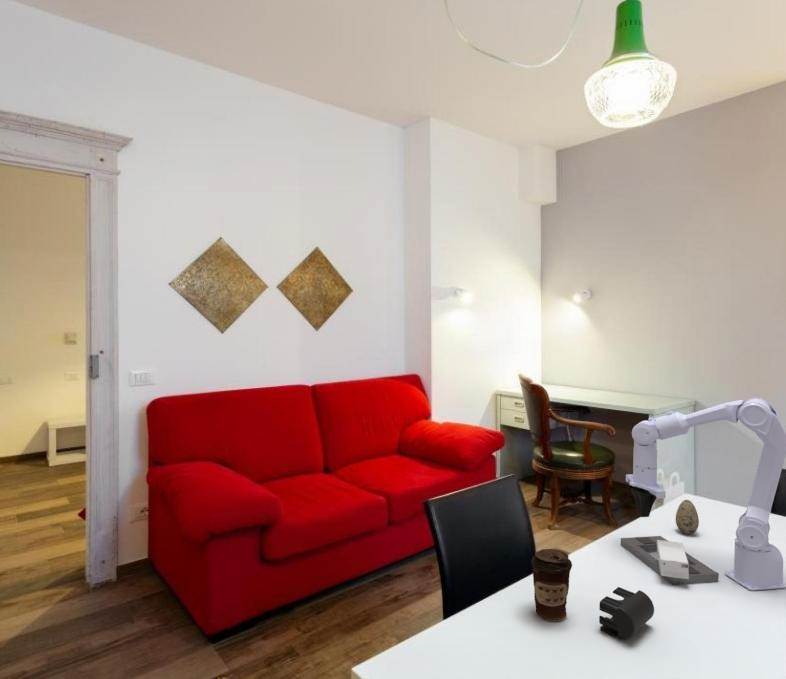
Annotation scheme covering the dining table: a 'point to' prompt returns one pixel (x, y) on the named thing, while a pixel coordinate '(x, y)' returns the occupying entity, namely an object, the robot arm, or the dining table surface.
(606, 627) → the end cap
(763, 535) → the robot arm
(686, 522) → the decorative egg
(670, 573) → the skincare box
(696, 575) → the plate
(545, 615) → the coffee cup
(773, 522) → the dining table surface
